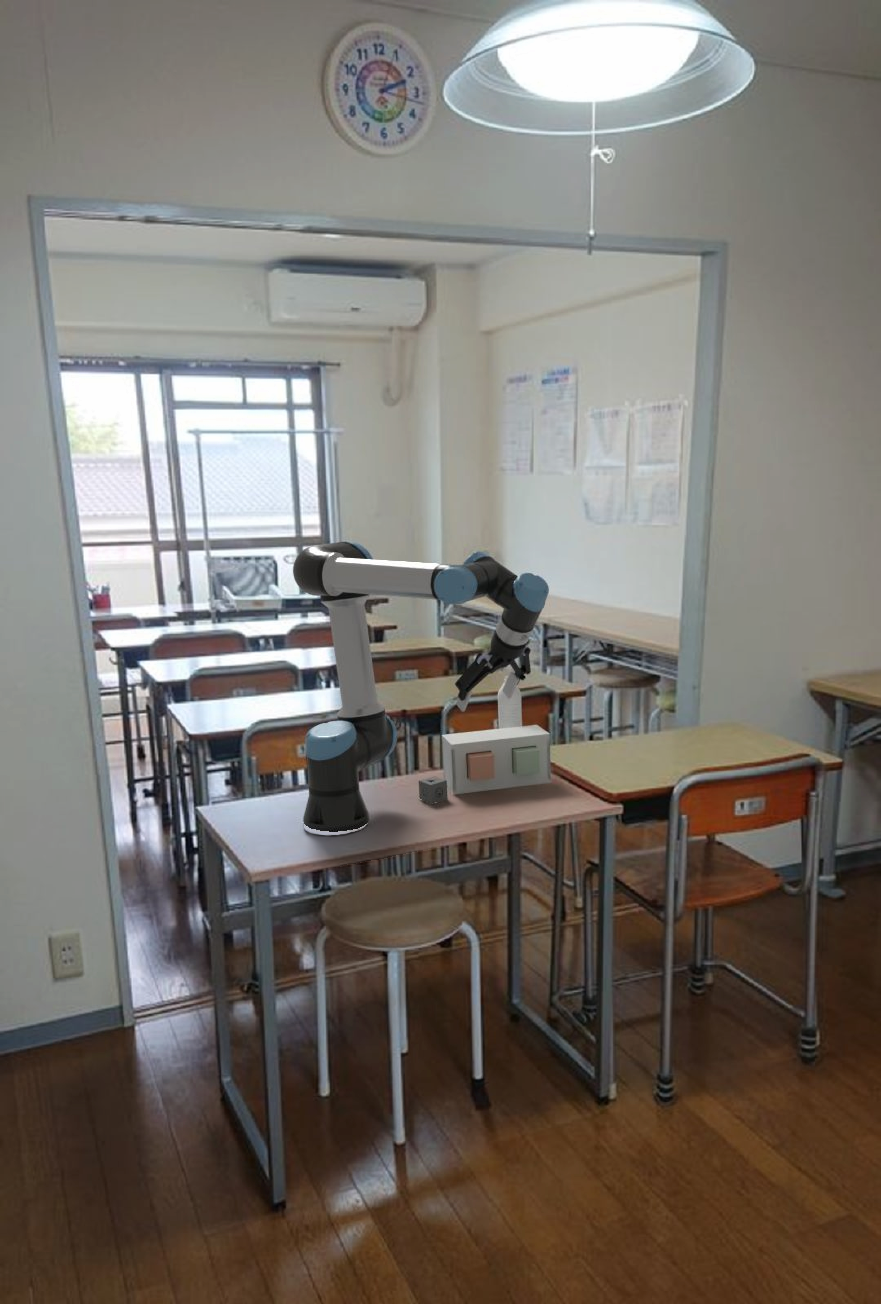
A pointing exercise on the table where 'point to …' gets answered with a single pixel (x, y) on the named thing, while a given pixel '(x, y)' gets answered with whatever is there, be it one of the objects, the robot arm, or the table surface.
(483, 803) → the table surface
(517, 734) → the box
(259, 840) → the table surface
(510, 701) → the water bottle
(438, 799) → the dice cube
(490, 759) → the terracotta button
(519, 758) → the sage button
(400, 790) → the table surface
